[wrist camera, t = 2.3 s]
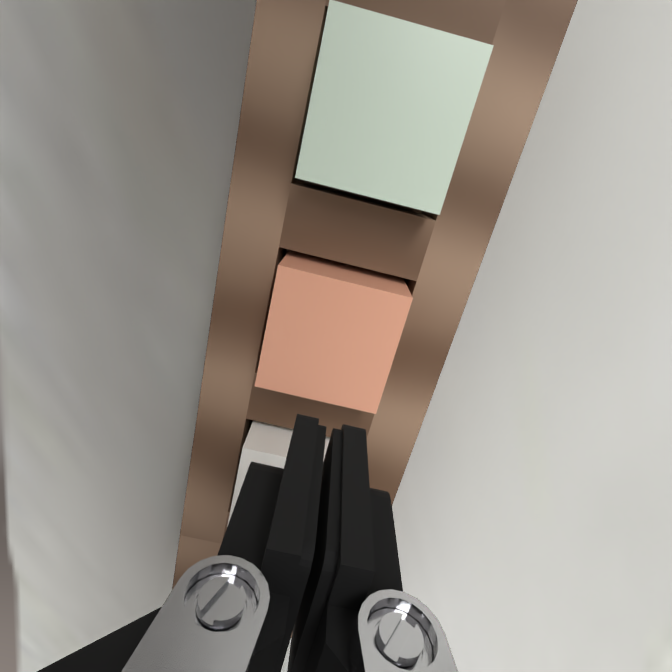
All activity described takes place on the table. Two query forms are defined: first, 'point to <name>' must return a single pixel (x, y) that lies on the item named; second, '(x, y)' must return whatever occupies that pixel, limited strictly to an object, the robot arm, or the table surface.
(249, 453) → the cream key
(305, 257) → the terracotta key
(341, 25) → the sage key
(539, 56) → the console
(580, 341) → the table surface
